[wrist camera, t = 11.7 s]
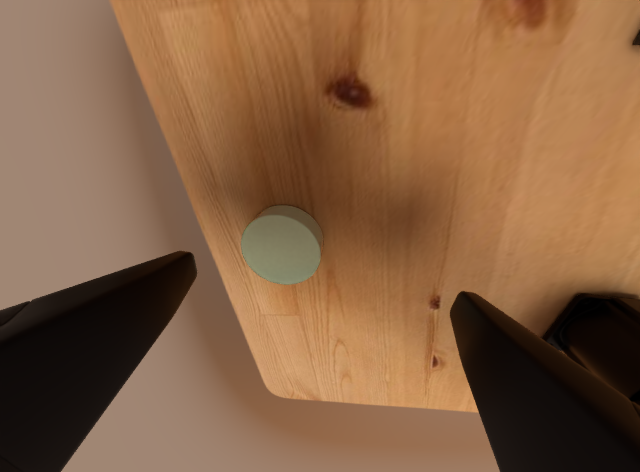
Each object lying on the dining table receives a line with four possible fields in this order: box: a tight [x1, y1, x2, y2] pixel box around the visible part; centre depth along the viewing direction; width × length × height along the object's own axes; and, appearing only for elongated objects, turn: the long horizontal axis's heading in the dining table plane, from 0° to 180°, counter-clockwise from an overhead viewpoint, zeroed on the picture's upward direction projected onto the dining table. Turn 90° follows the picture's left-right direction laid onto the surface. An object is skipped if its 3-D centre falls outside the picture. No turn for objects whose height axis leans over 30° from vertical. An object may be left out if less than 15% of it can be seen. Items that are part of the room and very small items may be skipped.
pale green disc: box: [241, 205, 324, 285], centre depth 19 cm, size 7×7×2 cm
